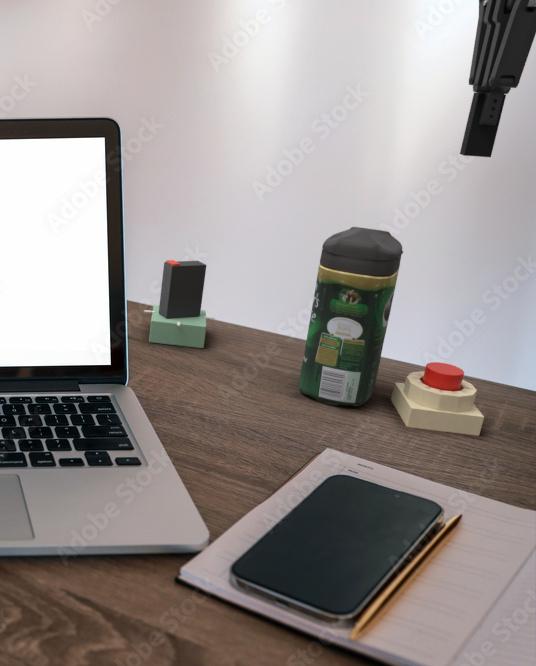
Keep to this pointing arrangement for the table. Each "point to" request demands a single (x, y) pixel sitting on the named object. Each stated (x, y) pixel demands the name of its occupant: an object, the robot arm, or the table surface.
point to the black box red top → (182, 289)
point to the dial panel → (178, 329)
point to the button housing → (437, 406)
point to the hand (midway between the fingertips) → (475, 155)
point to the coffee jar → (350, 315)
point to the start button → (443, 376)
